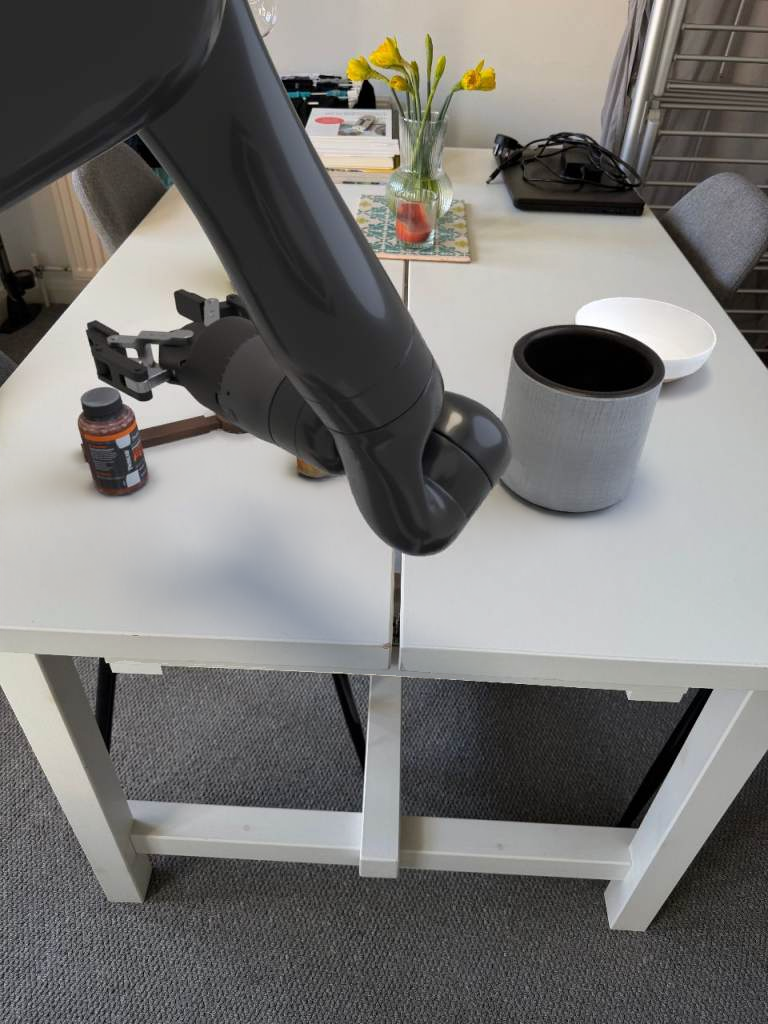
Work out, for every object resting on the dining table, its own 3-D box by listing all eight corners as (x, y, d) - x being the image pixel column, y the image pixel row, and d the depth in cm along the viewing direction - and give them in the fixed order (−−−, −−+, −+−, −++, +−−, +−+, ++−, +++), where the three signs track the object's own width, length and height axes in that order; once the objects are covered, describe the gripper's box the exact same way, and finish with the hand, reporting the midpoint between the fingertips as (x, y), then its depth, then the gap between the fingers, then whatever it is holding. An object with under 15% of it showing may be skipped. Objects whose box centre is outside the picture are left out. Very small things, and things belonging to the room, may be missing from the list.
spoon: (89, 471, 85) (86, 462, 84) (79, 442, 89) (77, 433, 88) (273, 426, 93) (273, 416, 92) (257, 401, 97) (256, 392, 96)
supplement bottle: (153, 491, 82) (132, 405, 75) (98, 502, 81) (71, 416, 73) (145, 461, 87) (126, 377, 79) (93, 471, 85) (68, 386, 78)
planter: (549, 421, 95) (571, 309, 85) (657, 478, 86) (697, 361, 76) (465, 470, 87) (480, 352, 77) (576, 539, 78) (609, 416, 68)
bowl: (652, 327, 117) (662, 290, 113) (732, 388, 103) (747, 348, 99) (543, 343, 112) (549, 305, 108) (611, 409, 98) (622, 368, 94)
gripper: (328, 306, 56) (197, 250, 64) (176, 373, 48) (47, 299, 56) (331, 390, 61) (208, 328, 69) (193, 464, 53) (72, 384, 61)
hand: (136, 315), depth 63 cm, fingers open, 8 cm apart
